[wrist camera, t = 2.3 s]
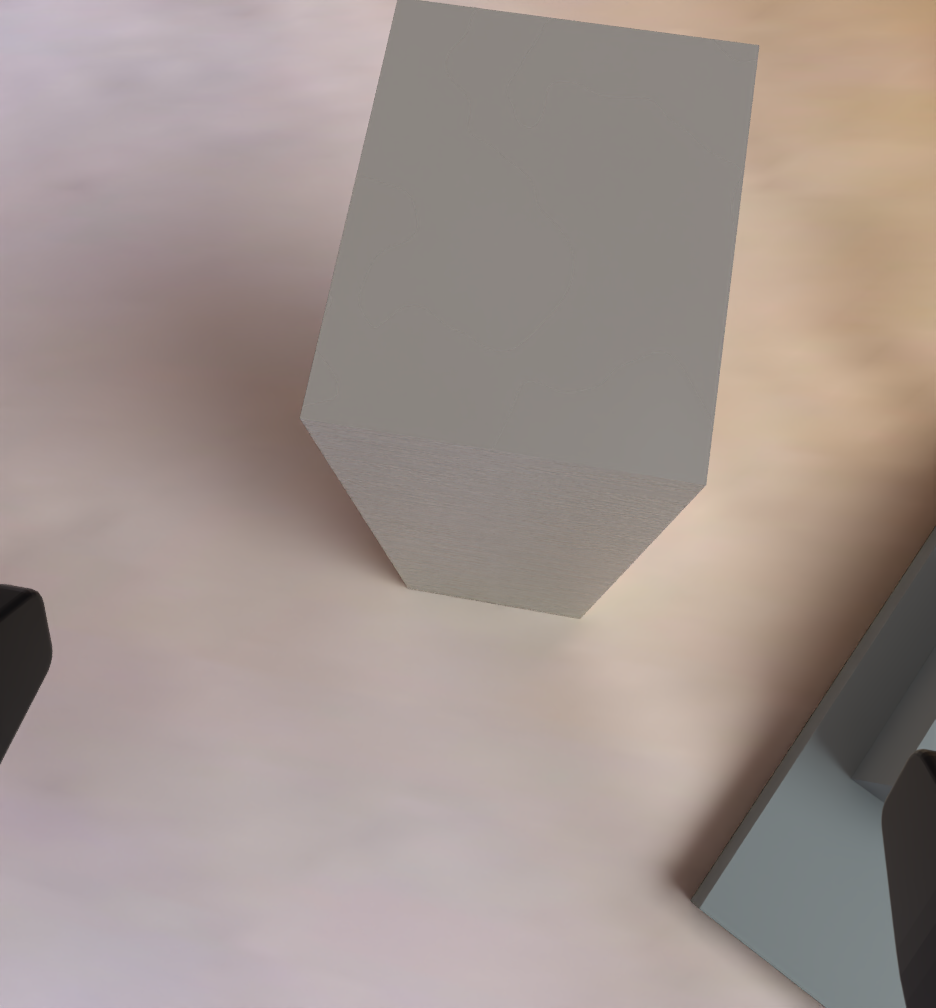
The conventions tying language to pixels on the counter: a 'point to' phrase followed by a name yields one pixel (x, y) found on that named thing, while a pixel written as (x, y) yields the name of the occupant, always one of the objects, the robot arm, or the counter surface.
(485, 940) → the counter surface
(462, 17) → the steel block
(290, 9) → the counter surface
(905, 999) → the robot arm
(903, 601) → the stepped grey baseplate
